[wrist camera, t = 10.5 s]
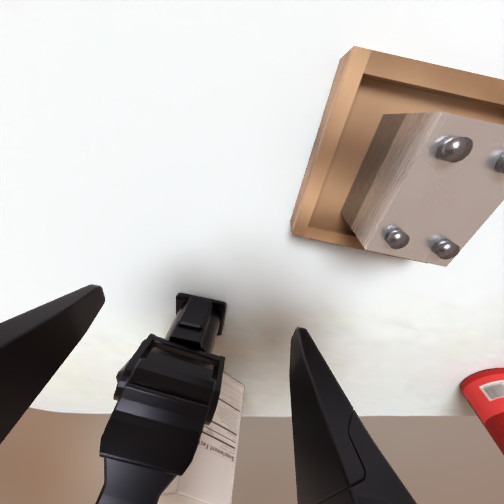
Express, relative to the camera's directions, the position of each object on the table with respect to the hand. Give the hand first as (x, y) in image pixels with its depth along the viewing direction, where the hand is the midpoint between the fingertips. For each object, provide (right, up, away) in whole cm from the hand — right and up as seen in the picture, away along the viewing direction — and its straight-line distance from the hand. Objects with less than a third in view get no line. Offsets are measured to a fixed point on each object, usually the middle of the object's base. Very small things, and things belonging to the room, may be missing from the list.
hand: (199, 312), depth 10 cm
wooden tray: (+13, +10, +8) cm, 18 cm away
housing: (+13, +8, +6) cm, 17 cm away
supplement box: (-5, -21, +30) cm, 36 cm away
